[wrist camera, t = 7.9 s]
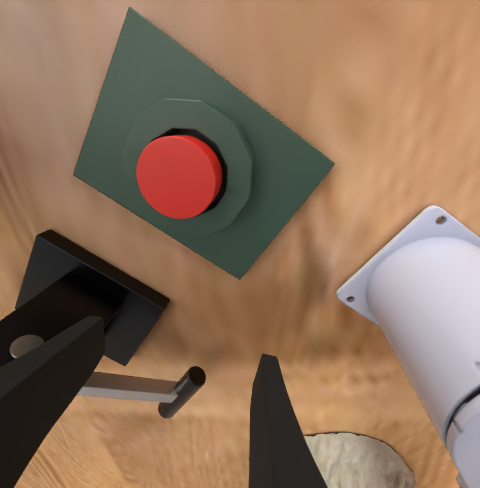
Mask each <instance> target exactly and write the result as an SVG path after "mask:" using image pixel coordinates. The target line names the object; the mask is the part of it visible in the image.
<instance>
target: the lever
mask: <svg viewBox="0 0 480 488" xmlns="http://www.w3.org/2000/svg"><path fill="white" fill-rule="evenodd" d="M205 380H206V375H205V372H204V371H203V370H202V369H201V368H200V367H198V366H193V367H191V368H190V369H189V370H188V371H187V372H186V373H185V374H184V376H183V377H182V378H181V379H180V380H179V381H178V382H175V381H166V380H158V379H150V378H142V377H133V376H125V375H117V374H109V373H101V372H93V373H92V375H91V376H90V377H89V379H88V380H87V381H86V383H85V384H84V386H83V387H82V388H81V390H80V391H79V392H78V394H77V395H78V396H91V397H103V398H116V399H128V400H141V401H154V402H160V403H159V406H158V411H159V414H160V415H161V416H162V417H163V418H171V417H172V416H173V415H174V414H175V413H176V412H177V411H178V410H179V409H180V408H181V407H182V406H183V405H184V404H185V403H186V402H187V401H188V400H189V399H190V398H191V397H192V396H193V395H194V394H195V393H196V392H197V391H198V390H199V389H200V388H201V387H202V386H203V385H204V383H205Z"/></svg>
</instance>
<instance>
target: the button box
mask: <svg viewBox="0 0 480 488" xmlns="http://www.w3.org/2000/svg"><path fill="white" fill-rule="evenodd" d="M177 135H188V136H193V137H196V138H198V139H201V140H202V141H204V142H205V143H207V144H208V145H209V146H210V147H211V148H212V149H213V150H214V152H215V153H216V155H217V157H218V159H219V161H220V164H221V167H222V184H221V188H220V191H219V192H218V194H217V196H216V197H215V198H214V200H213V201H212V202H211V203H210V205H209V206H208V207H207V208H206V209H205V210H204V211H203V212H202V213H200V214H198V215H197V216H194V217H191V218H187V219H176V218H171V217H168V216H165V215H163V214H161V213H160V212H158V211H157V210H155V209H154V208H153V207H152V206H151V205H150V204H149V203H148V202H147V201H146V199H145V198H144V196H143V195H142V193H141V190H140V188H139V185H138V181H137V164H138V160H139V157H140V155H141V153H142V151H143V150H144V149H145V147H146V146H147V145H148V144H150V143H151V142H152V141H154V140H156V139H158V138H161V137H166V136H177ZM334 165H335V163H334V162H332V161H331V160H330V159H328V158H327V157H326V156H325V155H323V154H322V153H321V152H319V151H318V150H317V149H315V148H314V147H313V146H311V145H310V144H309V143H308V142H306V141H305V140H304V139H302V138H301V137H300V136H298V135H297V134H296V133H295V132H293V131H292V130H291V129H289V128H288V127H287V126H285V125H284V124H283V123H281V122H280V121H279V120H278V119H276V118H275V117H274V116H272V115H271V114H270V113H268V112H267V111H266V110H265V109H263V108H262V107H261V106H259V105H258V104H257V103H255V102H254V101H253V100H251V99H250V98H249V97H248V96H246V95H245V94H244V93H242V92H241V91H240V90H238V89H237V88H236V87H234V86H233V85H232V84H231V83H229V82H228V81H227V80H225V79H224V78H223V77H221V76H220V75H219V74H218V73H216V72H215V71H214V70H212V69H211V68H210V67H208V66H207V65H206V64H204V63H203V62H202V61H201V60H199V59H198V58H197V57H195V56H194V55H193V54H191V53H190V52H189V51H188V50H186V49H185V48H184V47H182V46H181V45H180V44H178V43H177V42H176V41H174V40H173V39H172V38H171V37H169V36H168V35H167V34H165V33H164V32H163V31H161V30H160V29H159V28H157V27H156V26H155V25H154V24H152V23H151V22H150V21H148V20H147V19H146V18H144V17H143V16H142V15H141V14H139V13H138V12H137V11H135V10H134V9H133V8H131V7H129V9H128V12H127V15H126V18H125V21H124V24H123V27H122V30H121V33H120V36H119V39H118V42H117V45H116V48H115V51H114V54H113V57H112V60H111V63H110V66H109V69H108V72H107V75H106V78H105V81H104V84H103V87H102V90H101V93H100V96H99V99H98V102H97V105H96V108H95V111H94V114H93V117H92V120H91V123H90V126H89V129H88V132H87V135H86V138H85V141H84V144H83V147H82V150H81V153H80V156H79V159H78V162H77V165H76V168H75V171H74V174H73V175H74V176H76V177H77V178H79V179H80V180H82V181H84V182H85V183H87V184H88V185H90V186H92V187H93V188H95V189H96V190H98V191H100V192H101V193H103V194H104V195H106V196H107V197H109V198H111V199H112V200H114V201H115V202H117V203H119V204H120V205H122V206H123V207H125V208H126V209H128V210H130V211H131V212H133V213H134V214H136V215H138V216H139V217H141V218H142V219H144V220H146V221H147V222H149V223H150V224H152V225H153V226H155V227H157V228H158V229H160V230H161V231H163V232H165V233H166V234H168V235H169V236H171V237H172V238H174V239H176V240H177V241H179V242H180V243H182V244H184V245H185V246H187V247H188V248H190V249H192V250H193V251H195V252H196V253H198V254H199V255H201V256H203V257H204V258H206V259H207V260H209V261H211V262H212V263H214V264H215V265H217V266H218V267H220V268H222V269H223V270H225V271H226V272H228V273H230V274H231V275H233V276H234V277H236V278H238V279H239V280H240V279H241V278H242V277H243V276H244V274H245V273H246V272H247V271H248V270H249V268H250V267H251V266H252V265H253V263H254V262H255V261H256V260H257V259H258V257H259V256H260V255H261V254H262V253H263V251H264V250H265V249H266V248H267V246H268V245H269V244H270V243H271V242H272V240H273V239H274V238H275V237H276V235H277V234H278V233H279V232H280V231H281V229H282V228H283V227H284V226H285V225H286V223H287V222H288V221H289V220H290V218H291V217H292V216H293V215H294V214H295V212H296V211H297V210H298V209H299V207H300V206H301V205H302V204H303V203H304V201H305V200H306V199H307V198H308V197H309V195H310V194H311V193H312V192H313V190H314V189H315V188H316V187H317V186H318V184H319V183H320V182H321V181H322V179H323V178H324V177H325V176H326V175H327V173H328V172H329V171H330V170H331V169H332V167H333V166H334Z"/></svg>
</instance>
